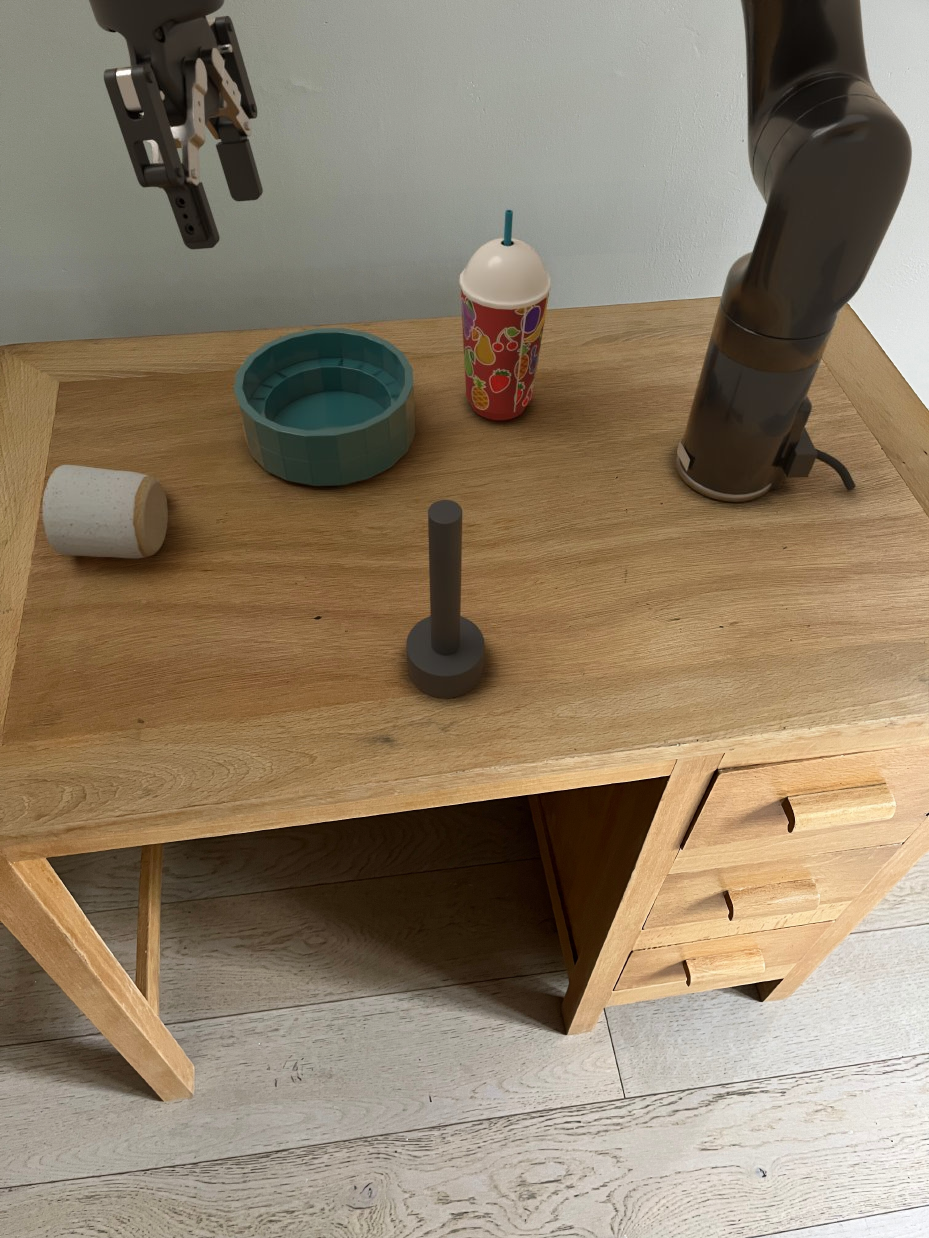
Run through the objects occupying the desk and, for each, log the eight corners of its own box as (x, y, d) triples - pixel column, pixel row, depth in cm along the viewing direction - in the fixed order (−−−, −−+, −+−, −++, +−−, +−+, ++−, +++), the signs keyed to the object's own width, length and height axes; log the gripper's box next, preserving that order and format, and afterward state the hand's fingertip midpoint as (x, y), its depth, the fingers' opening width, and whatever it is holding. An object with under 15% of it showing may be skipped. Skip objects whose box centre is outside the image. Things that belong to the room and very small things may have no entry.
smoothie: (555, 411, 88) (578, 218, 72) (488, 440, 85) (497, 246, 69) (507, 370, 92) (519, 180, 77) (442, 396, 89) (441, 204, 74)
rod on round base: (480, 635, 70) (488, 478, 56) (486, 696, 66) (496, 544, 53) (406, 637, 69) (397, 480, 56) (408, 700, 66) (398, 547, 52)
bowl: (413, 380, 91) (411, 326, 86) (417, 488, 81) (415, 433, 75) (255, 384, 90) (243, 329, 85) (238, 493, 80) (224, 438, 75)
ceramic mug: (157, 576, 73) (132, 510, 67) (62, 573, 73) (28, 507, 67) (187, 493, 80) (166, 426, 74) (99, 490, 80) (71, 423, 74)
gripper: (138, -77, 41) (243, 261, 52) (240, -110, 51) (309, 180, 62) (3, -54, 43) (132, 269, 54) (127, -91, 53) (214, 189, 64)
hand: (227, 221), depth 58 cm, fingers open, 8 cm apart
